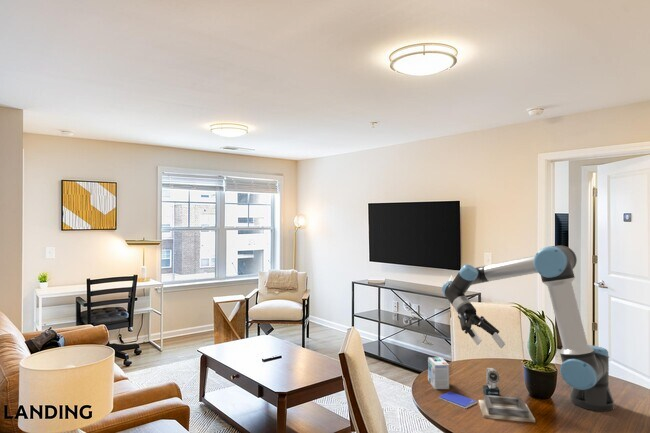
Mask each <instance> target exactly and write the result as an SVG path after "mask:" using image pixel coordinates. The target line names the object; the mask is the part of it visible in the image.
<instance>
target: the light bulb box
mask: <svg viewBox="0 0 650 433" xmlns="http://www.w3.org/2000/svg"><path fill="white" fill-rule="evenodd" d="M427 367H428V368H427V382H429V384H430V385H431V387H432V388H433V389H434V390H449V389H450V364H449V363H448V362H447V361H446V359H444V358H443V357H441V356H438V357H435V356H434V357H427Z"/></svg>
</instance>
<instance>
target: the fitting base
mask: <svg viewBox="0 0 650 433" xmlns="http://www.w3.org/2000/svg"><path fill="white" fill-rule="evenodd" d="M477 403H478V405H479V408H480V411H481V414H482V417H483V418H484V419H495V420H504V421H516V422H526V423H536V418H535V417H534V415H533V412H532V411H531V410H530V408H529V406H528V405H527V403H525V402H524V399H522V397H515V396H514V397H513V396H502V395H500V396H491V395H485V394H484V395H483V399H478V402H477Z"/></svg>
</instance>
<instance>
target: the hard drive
mask: <svg viewBox="0 0 650 433" xmlns="http://www.w3.org/2000/svg"><path fill="white" fill-rule="evenodd" d="M438 399H439V400H443V401H445V402H447V403H449V404H452V405H455V406H458V407H460V408H463V409H465V408H466V409H468V408H470V407H471V406H473V405H476V404H477V403H478V402H477V400H475V399H472V398H471V397H467V396H464V395H461V394H459V393H456V392H453V391H448V392H446V393H443V394H440V395H439V397H438Z"/></svg>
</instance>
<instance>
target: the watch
mask: <svg viewBox="0 0 650 433" xmlns="http://www.w3.org/2000/svg"><path fill="white" fill-rule="evenodd" d="M485 373H486V374H485V375H486V377H485V379H486V384H485V385H483V386H482V393H483V394H484V395H491V396H501V395H500V392H501V391H500V388H499V387H498V384H499V381H500V379H501V376H500V375H499V373H498V372H497V370H496V369H495V368H493V367H487V368H486V372H485Z"/></svg>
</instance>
